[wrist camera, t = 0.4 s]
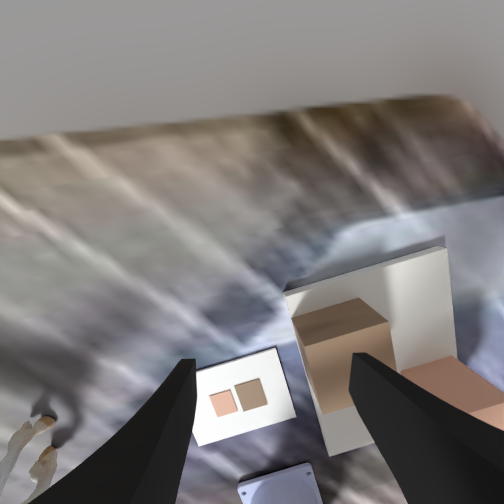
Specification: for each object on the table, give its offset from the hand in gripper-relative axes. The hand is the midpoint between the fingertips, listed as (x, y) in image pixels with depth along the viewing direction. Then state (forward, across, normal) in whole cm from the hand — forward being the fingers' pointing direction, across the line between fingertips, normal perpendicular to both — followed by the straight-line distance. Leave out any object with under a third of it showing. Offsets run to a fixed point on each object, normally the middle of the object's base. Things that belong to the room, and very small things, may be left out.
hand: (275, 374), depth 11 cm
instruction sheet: (+10, +2, +11) cm, 15 cm away
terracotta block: (+9, -17, +9) cm, 21 cm away
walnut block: (+9, -7, +4) cm, 12 cm away
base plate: (+10, -12, +7) cm, 17 cm away
